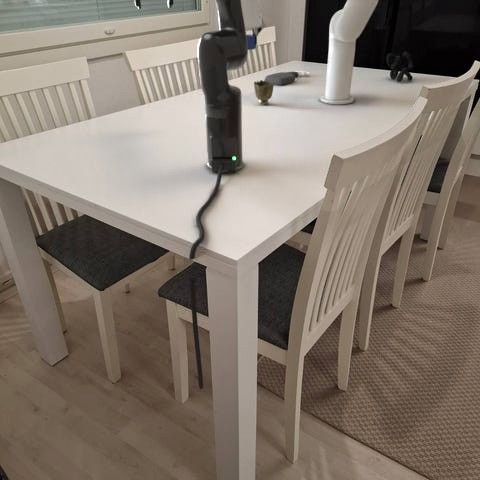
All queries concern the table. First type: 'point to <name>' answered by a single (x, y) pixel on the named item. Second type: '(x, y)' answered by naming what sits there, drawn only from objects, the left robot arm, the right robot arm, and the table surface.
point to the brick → (251, 42)
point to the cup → (263, 91)
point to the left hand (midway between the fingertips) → (154, 8)
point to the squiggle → (399, 66)
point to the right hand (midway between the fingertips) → (247, 47)
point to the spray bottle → (284, 77)
